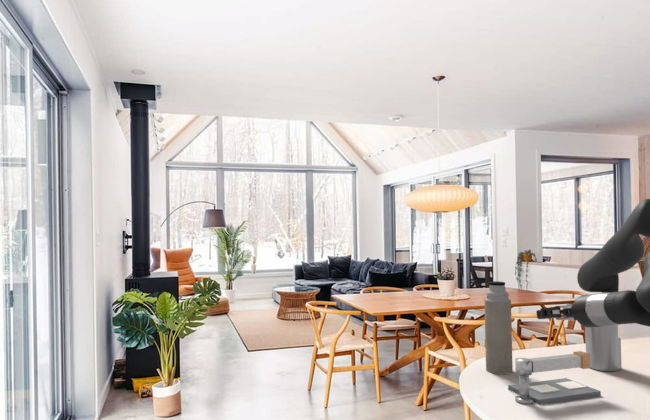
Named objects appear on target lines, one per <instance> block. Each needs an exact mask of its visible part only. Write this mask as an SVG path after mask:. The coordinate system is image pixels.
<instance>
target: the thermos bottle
mask: <svg viewBox="0 0 650 420" xmlns="http://www.w3.org/2000/svg"><path fill="white" fill-rule="evenodd" d="M488 285H489V287H488V289H489V290H488V291H486V294H485V297H486V298H484V337H485V338H484V339H485V370H486V372H489V373H492V374H498V375H509V374H512V373H513V371H514V370H513V368H514V367H513V366H514V365H513V340H512V339H513V338H512V336H513V335H512V333H513V330H512V329H513V327H512V326H513V325H512V300H511V299H509V297H510V295H509V292H508V291H507V290H506V282H505V281H498V280H497V281H495V280H493V281H489V282H488Z"/></svg>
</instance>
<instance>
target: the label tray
mask: <svg viewBox="0 0 650 420" xmlns="http://www.w3.org/2000/svg"><path fill="white" fill-rule="evenodd" d="M507 389H508V391H510V390H511V392H512V391H513V393H514V392H515V393H514V394H516V393H517V395H518V394H519V383H517V384H509V385H507ZM601 393H602V392H601V390H598V389H596V388H593V387H590V386H588V385H585V384H583V383H581V382H578V381H575V380H572V379H569V378H568V377H563V378H555V379H549V380H548V379H547V380H541V381H531V382H530V381H529V397H531V398H533V399H534V403H535V404H536V405H537V404H538V405H545V404H552V403H558V402H559V403H560V402H565V401H566V402H567V401H575V400H580V399H588V398H594V397H601V395H602V394H601Z"/></svg>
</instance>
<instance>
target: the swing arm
mask: <svg viewBox="0 0 650 420" xmlns="http://www.w3.org/2000/svg"><path fill="white" fill-rule="evenodd" d="M514 361H515V362H514V363H515V369H514V370H515V374H517V375H518V376H519V375H529V376H531V375H533V374H534V373H535V374H537V373H543V372H544V373H545V372H551V371H562V370H568V369H577V368H579V369H582V370H586V369H591V368H590V354H588V353H586V351H585V352H584V351H581V350H580V351H579V350H577V351H573V353H570V354H568V353H567V354H560V355H550V356H549V355H547V356H542V357H541V356H540V357H531V358H528V357H527V358H526V357H516V358H515V359H514Z"/></svg>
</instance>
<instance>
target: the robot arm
mask: <svg viewBox="0 0 650 420" xmlns="http://www.w3.org/2000/svg"><path fill="white" fill-rule="evenodd" d="M641 236H644V237H646V238H649V239H650V198H645V199H643V200H641V201H640V202H639V203H638V204H637V205H636V206H635V207H634V209H633V210H632V211H631V212H630V214H629V216H628V217H627V218H626V219H625V221H624V222H623V224H622V225H621V226H620V228H619V229H618V230H617V231H616V232H615V233H614V234H613V235H612V236H611V237H610V238H609V239H608V240H607V242H605V244H604V245H603V246H602V248H601V249H600V250H598V252H597V253H595V254H594V255H593V256H592V257H591V258H590V259H588V260H587V261H585V262H584V263H582V265H581V266H580V267H579V270H578V272H577V277H576V278H577V284H578V286H579V287H580V289H582V290H583V291H585V292H589V294H584V295H580V296H578V297H577V298H576V299H575V300H574V302H573V303H567V304H564V305H555V306H551V307H542V308H540V309H538V310H536V318H537V319H538V320H552V319H556V320H557V321H571V322H572V321H573V322H574V321H577V323H579V325H581V326H583V327H584V336H585V339H584V340H585V353H588V354H590V368H589V369H592V370H596V371H602V372H617V371H619V370H620V369H622V368H623V367H622V338H620V337H619V325H627V324H628V325H630V324H637V325H640V326H645V327H650V250H649V251H647V253H646V255H645V245H644V243H643V239H642V238H641ZM644 255H645V258H644V261H643V277H642V279H641V281H640V282H639V285H637V287H636V289H635V290H633V289H630V290H629V289H627V290H619V289H620V288H619V283H620V279H619V278H620V277H619V274H621V273H623V272H626V271H628V270H630V269H632V268H633V267H634V266H635V265H637V263H639V262H641V259H643V256H644ZM590 293H591V294H590Z"/></svg>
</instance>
